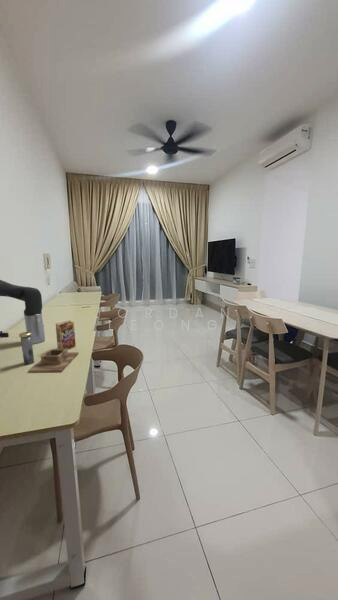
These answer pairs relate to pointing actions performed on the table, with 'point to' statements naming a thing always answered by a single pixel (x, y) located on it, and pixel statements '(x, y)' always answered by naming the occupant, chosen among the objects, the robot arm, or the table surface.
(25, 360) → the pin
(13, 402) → the table surface
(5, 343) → the table surface
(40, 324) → the robot arm
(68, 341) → the candy box
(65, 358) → the socket block
